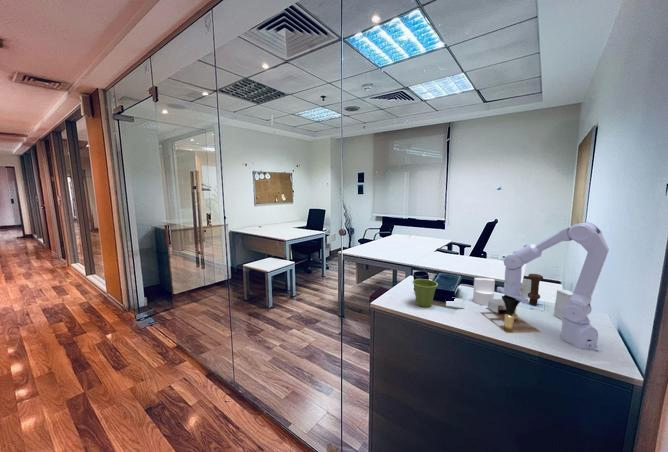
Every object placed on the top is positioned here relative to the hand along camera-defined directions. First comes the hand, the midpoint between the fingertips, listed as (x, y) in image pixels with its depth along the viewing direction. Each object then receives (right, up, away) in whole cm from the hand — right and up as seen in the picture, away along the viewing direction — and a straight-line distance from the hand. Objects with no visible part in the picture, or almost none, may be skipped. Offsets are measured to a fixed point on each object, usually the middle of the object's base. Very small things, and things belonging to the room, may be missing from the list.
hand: (510, 313), depth 114 cm
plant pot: (-31, -2, +18) cm, 36 cm away
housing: (+1, -1, +8) cm, 8 cm away
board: (-2, -4, +1) cm, 4 cm away
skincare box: (+26, -3, +3) cm, 26 cm away
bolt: (+23, -2, +18) cm, 30 cm away
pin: (-7, -4, -9) cm, 12 cm away
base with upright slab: (0, -1, +21) cm, 21 cm away
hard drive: (-15, -2, +19) cm, 24 cm away
